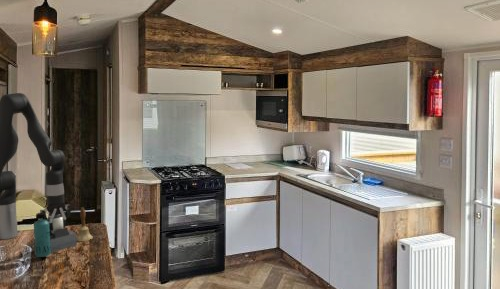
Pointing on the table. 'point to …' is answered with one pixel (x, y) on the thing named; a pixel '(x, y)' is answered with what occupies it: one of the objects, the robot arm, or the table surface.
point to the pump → (57, 222)
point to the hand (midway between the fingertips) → (57, 228)
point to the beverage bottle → (42, 236)
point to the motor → (62, 239)
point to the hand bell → (83, 228)
